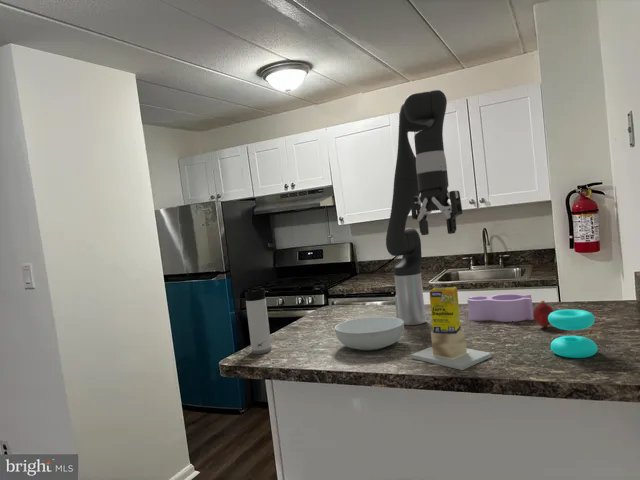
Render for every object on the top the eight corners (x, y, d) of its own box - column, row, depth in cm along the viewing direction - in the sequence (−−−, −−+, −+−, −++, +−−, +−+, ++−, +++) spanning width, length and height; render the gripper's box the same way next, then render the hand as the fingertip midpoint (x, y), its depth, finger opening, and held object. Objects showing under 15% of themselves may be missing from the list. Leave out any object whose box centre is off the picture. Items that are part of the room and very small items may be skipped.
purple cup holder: (468, 322, 151) (466, 302, 151) (471, 314, 162) (469, 295, 162) (534, 321, 143) (531, 300, 143) (532, 313, 155) (530, 292, 154)
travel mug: (264, 354, 139) (256, 290, 138) (247, 353, 142) (240, 290, 142) (276, 348, 144) (269, 286, 143) (260, 347, 148) (253, 287, 147)
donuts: (597, 309, 110) (590, 318, 103) (601, 349, 111) (593, 361, 103) (552, 307, 117) (542, 316, 109) (556, 345, 117) (546, 357, 110)
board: (411, 358, 120) (411, 354, 120) (440, 347, 127) (440, 343, 127) (462, 370, 107) (461, 365, 107) (491, 356, 114) (491, 352, 114)
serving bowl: (420, 340, 136) (417, 318, 135) (377, 361, 121) (374, 335, 121) (366, 334, 150) (363, 313, 150) (322, 351, 135) (319, 329, 135)
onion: (558, 329, 132) (556, 302, 131) (537, 330, 133) (534, 303, 132) (552, 324, 137) (550, 298, 137) (532, 325, 138) (529, 299, 138)
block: (433, 354, 118) (430, 331, 117) (447, 348, 121) (445, 326, 121) (452, 358, 113) (449, 334, 112) (466, 352, 116) (464, 329, 116)
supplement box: (433, 333, 115) (428, 291, 115) (438, 327, 120) (434, 287, 120) (456, 334, 112) (452, 290, 112) (461, 327, 118) (457, 286, 117)
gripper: (401, 175, 119) (407, 237, 119) (444, 166, 107) (451, 234, 108) (420, 174, 123) (426, 234, 124) (464, 166, 112) (470, 231, 112)
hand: (438, 234), depth 116 cm, fingers open, 8 cm apart
